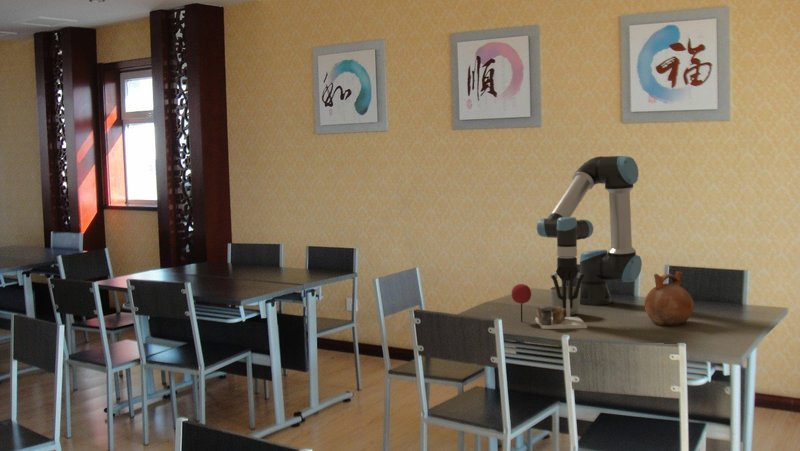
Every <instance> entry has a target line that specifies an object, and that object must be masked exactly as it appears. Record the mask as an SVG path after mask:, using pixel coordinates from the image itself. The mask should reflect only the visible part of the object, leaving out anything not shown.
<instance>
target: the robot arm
mask: <svg viewBox="0 0 800 451" xmlns="http://www.w3.org/2000/svg"><path fill="white" fill-rule="evenodd" d="M638 179H639V168H638V164H637V163H636V161H635V159H634V158H632V157H631V156H627V155H626V156H625V155H613V156H612V155H611V156H608V155H607V156H596V157H595V156H594V157H593V158H591V159H589V160H587V161H586V162H584V163H583V164H582V165H581V166H580V167H578V168H577V170H575V172H574V174H573V176H572V181H571V183H570V184H569V186H568V187H567V189H566V190H565V192H564V193H563V194H562V196H561V198H560V199H559V201H558V202H557V204H556V205H555V207H553V210H552V211H551V213H550V214H549V216H548V217H547V218H541V219H539V220H538V221H537V224H536V231H537V234H538V235H539V236H540V237H543V238H551V239H553V238H554V239H556V243H557V244H556V245H557V246H556V248H557V250H556V256H558V257H557V258H556V262H557V263H556V268H557V269H556V270H555V273H553V274H550V278H551V279H552V281H553V284H554V287H555V289H556V293H557V297H558V298H559V299H562V307H563V308H565V317H571V316H570V308H572V307H573V299H576V298H577V297H578V293H579V288H580V289H581V296H580V305H581V304H582V305H590V306H591V305H593V306H598V305H603V306H604V305H608V304H609V305H610V304H611V303H612V297H611V294H610V293H611V292H610V290H609V287H608V281H613V282H622V283H626V282H627V283H632V282H634V281H636V280H637V279H638V278H639V276H640V274H641V270H642V263H643V262H642V258H641V255H637V254H636V252H637V249H636V248H635V247H633V242H632V237H633V236H632V218H631V217H632V216H631V215H632V212H631V193H630V192H631V191H632V189H634V184H635V185H636V183H637V182H638ZM598 184H602V185H604V189H605V190H606V191H607V192H608V198H609V199H608V200H609V202H608V203H609V224H610V225H609V226H610V227H609V228H610V244H611V245H610V248H609V249H608V250H607V249H594V250H588V251H583V252H581V253H580V258H579V270H578V258H577V255H578V249H577V248H578V246H577V245H578V243H577V242H578V240H585V239H587V238H590V237H591V236H592V234H594V226H593V224H592V221H590V220H588V219H577V218H576V217H574V216H572V215H573V214H574V212H575V211H576V210H577V208H578V206H579V205H580V203H581V202H582V200H583V198H584V197H585V196H586V194H587V192H588V191H589V190H591V189H593V187H594V186H595V185H598ZM558 277H559V278H560V280H561V286H562V296H561V293H560V289H559V286H560V285H559V281H558V280H557V279H558ZM575 278H576V282H575V286H573V284H574V279H575ZM567 284H568V298H569V299H568V300H566V286H567ZM573 287H575V289H574V294H573Z"/></svg>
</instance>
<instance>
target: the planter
mask: <svg viewBox="0 0 800 451" xmlns="http://www.w3.org/2000/svg"><path fill="white" fill-rule="evenodd" d="M559 289H560V293H561V296H562V285H559ZM574 289H575V286H573V294H574ZM580 296H581V289H580V288H579V293H578V297H577V298H576V299H573V307H572V308H570V317H574V315H575V316H576V314H578V312H580V307H581V303H580ZM549 297H550V298H549V300H550V306H551V307H553V306H562V299H559V298H558V297H557V293H556V289H555V286H553V287H550V288H549ZM568 299H569V298H568V286H567V285H566V300H568ZM562 308H563V307H562Z"/></svg>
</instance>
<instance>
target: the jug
mask: <svg viewBox="0 0 800 451" xmlns="http://www.w3.org/2000/svg"><path fill="white" fill-rule="evenodd" d="M683 276H684V273H683V272H682V271H675V274H674V275H673V274H671V273H665V274H663V275H659V273H654V274H653V278H654V282H655V287H653V288H652V289H650V290H649V292H647V295H646V296H645V299H644V309H645V312H646V314H647V317H648V318H649V319H650V320H651V322H652V323H653V324H654V325H656V326H657V325H658V326H662V325H663V326H666V327H678V326H677V325H679V326H683V325H684V324H685V323H686V322H687V321H688V320H689V319H690V318H691V316H692V314H693V312H694V309H695V302H694V299H693V297H692V296H691V294H690V293H689V292H688V291H687V290H686V289H685V288H684V287H682V286H681V283H682V279H683ZM668 278H670V279H671V280H672V282H669V283H664V282H665V281H666V279H668ZM682 324H683V325H682Z"/></svg>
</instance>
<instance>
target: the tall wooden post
mask: <svg viewBox="0 0 800 451" xmlns="http://www.w3.org/2000/svg"><path fill="white" fill-rule="evenodd" d="M540 307H541V306H537V307H536V318H538V319H539V320H540V321H541V322H542V325H551V317H552V311H541V310H540Z"/></svg>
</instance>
